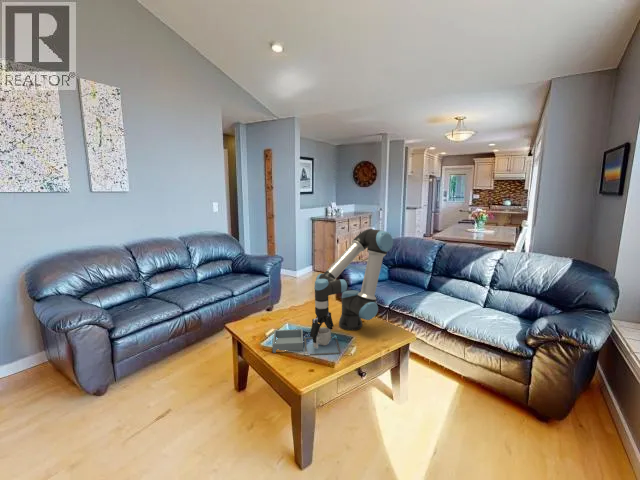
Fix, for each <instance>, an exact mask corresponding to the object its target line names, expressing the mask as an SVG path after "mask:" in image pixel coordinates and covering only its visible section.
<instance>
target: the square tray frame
mask: <svg viewBox="0 0 640 480" xmlns="http://www.w3.org/2000/svg"><path fill="white" fill-rule="evenodd" d="M332 337H333V336H331V339H333V338H332ZM307 340H313V338H312V337H303V345H304V351H303V355H304V354H310V355H309V356H322V355H323V356H325V355H341V354H342V351H341V346H340V344H339V340H338V338H337V339H336V338H334V340H335V342H336V346H337V350H338V352H323V353H322V352H321V353H320V352H318V353H316V352H315V353H309V352H308V351H307V349H308V348H307ZM340 353H341V354H340Z"/></svg>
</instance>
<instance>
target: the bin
mask: <svg viewBox="0 0 640 480" xmlns="http://www.w3.org/2000/svg"><path fill="white" fill-rule="evenodd" d="M273 332H274V333H273V337H272V353H273V354H275V353H276V350H277V349H279V350H289V351H302V352H304V336H303V335H304V334H303V333H304V332H303V329H302V328H301V329H298V328H297V329H276V330H274V331H273ZM276 337H277V338H278V339H277V340H276ZM275 342H276V343H275Z"/></svg>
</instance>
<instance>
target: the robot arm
mask: <svg viewBox="0 0 640 480" xmlns="http://www.w3.org/2000/svg"><path fill="white" fill-rule="evenodd" d="M351 242H352V243H351V244H350V245H349V246H348V247H347V248H346V249H345V251H343V252H342V254H340V255H339V257H338V258H337V259H336V260H335V261H334V262H333V263H332V264H331V265H330V266H329V268H328V269H326V271H324V272H323V273H319V274H318V275H316V278H315V281H314V313H315V316H316V317H315V318H312V319H311V320H312V321H311V322H312V323H311V328H310V332H309V338H311V337H312V338H313V339H312V343H313V346H312V347H313V348H314V349H319V344H318V337H317V335H318V332H319V329H320V328H321V327H322V325H323V324H325V327H326V328H329V329H330V340H329V341H332V338H331V337H332V336H331V335H332V330H333V329H334V322H333V318H332V312H330V311H329V310H330V309H329V304H330V303H329V302H330V301H329V296H333V295H336V294H337V295H338V294H341V315H340V317H339V321H338V326H339V327H340V329H343V330H346V331H357V330H361V328H362V327H363V321H362V319H363V320H365V321H370V320H372V319H373V318H375V317H376V316H377V314H378V312H379V306H378V304H377V303H376V302H377V297H376V290H377V287H378V282H379V277H380V274H381V268H382V263H383V260H384V257H385V256H387V254H388V252H390V250H391V249H392V248H393V245H394V238H393V236H392V234H391V233H389V232H388V231H386V230H380V229H373V228H367V229H366V230H365V229H364V230H363V231H362V232H360V233H359V234H357V235H356V237H354V238H353V240H352V241H351ZM366 249H367V252H368V257H367V262H366V266H365V271H364V276H363V280H362V285H361V289H360V291H359V290H348V283H347V281H346V280H345V279H344V278H343V279H340V278H339V279H337V278H338V277H339V276H340V275H341V274H342V272H344V270H345V269H346V268H347V267H348V266H349V265H350V264H351V263H352V262H353V261H354V260H355V259H356V258H357V256H359V254H360V253H361V252H364V251H365V250H366Z"/></svg>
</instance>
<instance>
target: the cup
mask: <svg viewBox="0 0 640 480" xmlns="http://www.w3.org/2000/svg"><path fill="white" fill-rule="evenodd" d="M317 337H318V345H320V346H327V345H329V343H330V341H331V340H330V329H329V328H327V326H325V327H324V326H320V329H319V332H318V335H317Z"/></svg>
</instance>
